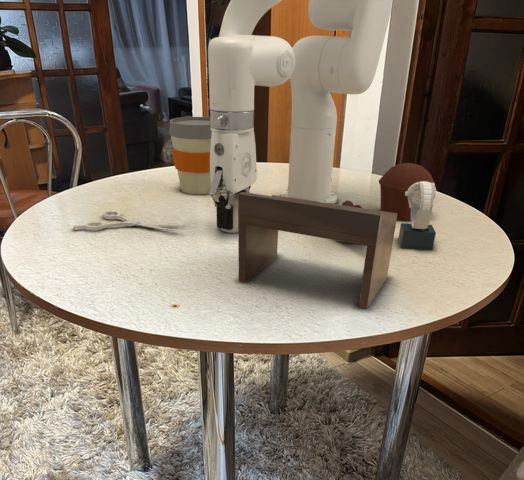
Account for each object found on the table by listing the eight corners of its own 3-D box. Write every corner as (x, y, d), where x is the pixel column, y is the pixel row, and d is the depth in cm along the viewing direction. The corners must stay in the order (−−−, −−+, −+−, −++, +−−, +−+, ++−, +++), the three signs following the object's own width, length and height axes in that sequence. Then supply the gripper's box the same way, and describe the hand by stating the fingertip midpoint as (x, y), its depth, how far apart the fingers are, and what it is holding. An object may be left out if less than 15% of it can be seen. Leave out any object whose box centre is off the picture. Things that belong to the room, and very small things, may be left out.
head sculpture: (426, 237, 96) (438, 177, 90) (434, 253, 89) (447, 189, 83) (396, 236, 96) (406, 176, 90) (401, 251, 90) (412, 187, 84)
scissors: (100, 209, 103) (193, 217, 100) (100, 213, 104) (193, 221, 100) (72, 226, 95) (173, 235, 91) (73, 230, 95) (174, 239, 91)
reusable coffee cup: (162, 189, 120) (156, 120, 112) (200, 179, 129) (198, 114, 121) (199, 199, 114) (195, 127, 106) (237, 189, 122) (237, 121, 114)
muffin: (381, 203, 114) (388, 156, 109) (432, 210, 111) (441, 162, 105) (369, 218, 105) (375, 167, 100) (423, 226, 101) (433, 174, 96)
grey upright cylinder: (227, 222, 101) (227, 192, 98) (250, 226, 99) (250, 195, 96) (215, 230, 97) (214, 198, 94) (238, 234, 95) (238, 202, 92)
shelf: (270, 255, 87) (273, 175, 80) (387, 277, 80) (401, 192, 73) (238, 281, 78) (238, 193, 71) (366, 309, 71) (380, 215, 64)
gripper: (227, 130, 80) (229, 240, 90) (272, 116, 93) (269, 214, 103) (186, 125, 83) (192, 234, 92) (235, 113, 96) (236, 209, 105)
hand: (233, 222), depth 97 cm, fingers open, 5 cm apart
